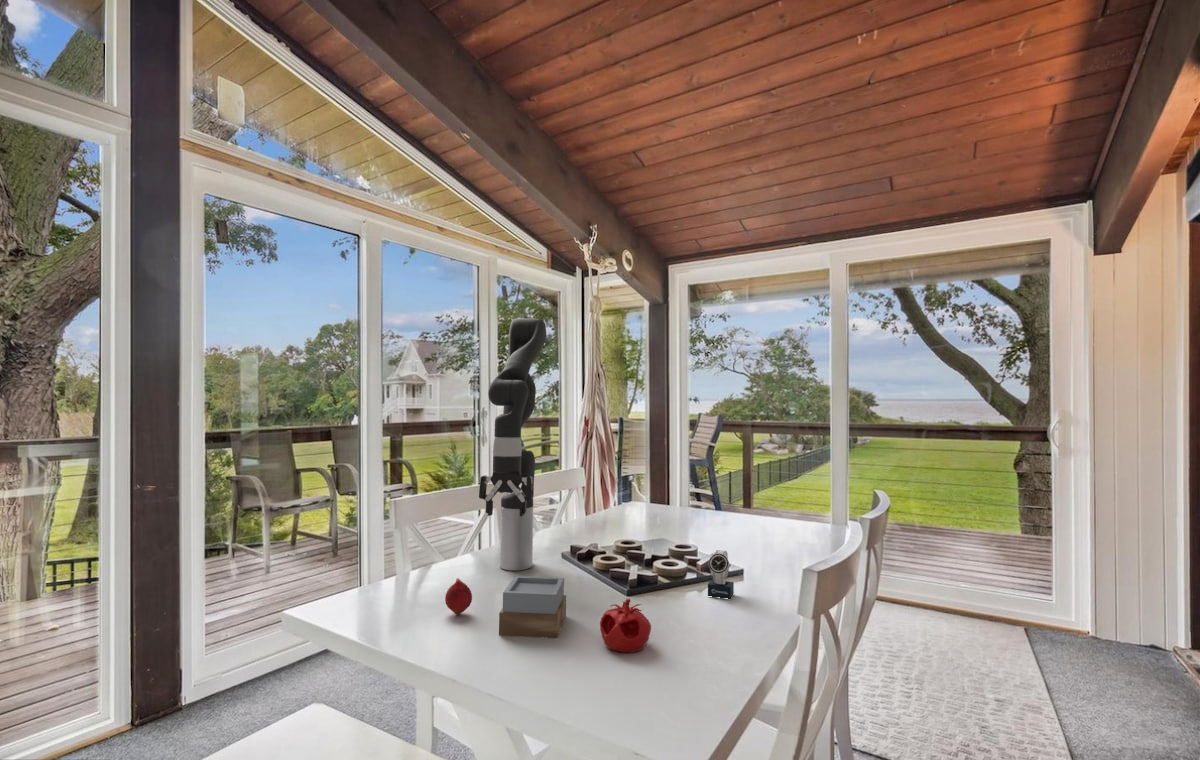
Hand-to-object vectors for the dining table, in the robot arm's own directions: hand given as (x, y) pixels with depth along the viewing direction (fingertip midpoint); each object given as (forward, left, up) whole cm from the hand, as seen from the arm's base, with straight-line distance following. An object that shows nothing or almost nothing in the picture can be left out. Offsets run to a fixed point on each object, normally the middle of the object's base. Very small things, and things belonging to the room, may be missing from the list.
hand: (505, 515), depth 156 cm
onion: (+25, -4, -17) cm, 30 cm away
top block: (+29, +14, -13) cm, 34 cm away
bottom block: (+29, +14, -18) cm, 36 cm away
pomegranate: (+37, +34, -18) cm, 53 cm away
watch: (+5, +56, -17) cm, 59 cm away
